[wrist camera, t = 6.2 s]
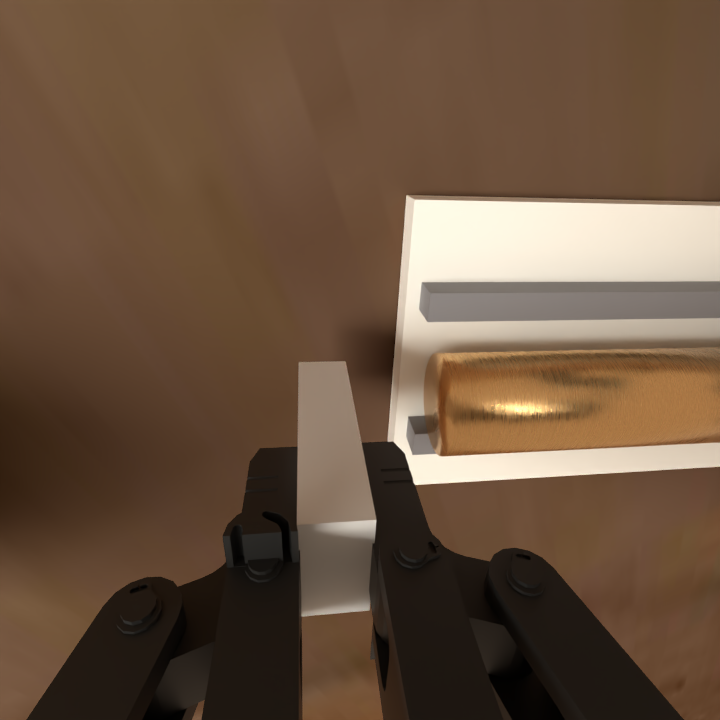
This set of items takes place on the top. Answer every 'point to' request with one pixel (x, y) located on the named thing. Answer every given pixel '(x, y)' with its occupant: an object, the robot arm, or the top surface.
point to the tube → (571, 399)
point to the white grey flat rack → (549, 307)
